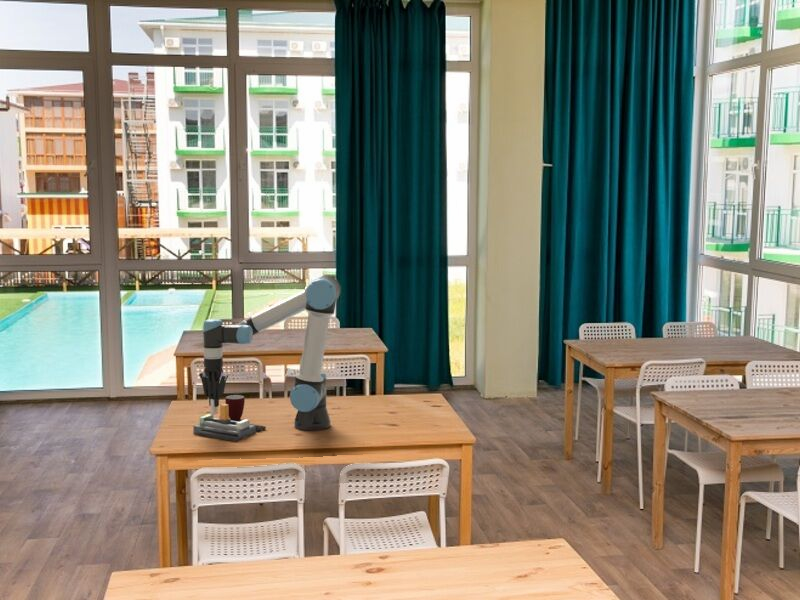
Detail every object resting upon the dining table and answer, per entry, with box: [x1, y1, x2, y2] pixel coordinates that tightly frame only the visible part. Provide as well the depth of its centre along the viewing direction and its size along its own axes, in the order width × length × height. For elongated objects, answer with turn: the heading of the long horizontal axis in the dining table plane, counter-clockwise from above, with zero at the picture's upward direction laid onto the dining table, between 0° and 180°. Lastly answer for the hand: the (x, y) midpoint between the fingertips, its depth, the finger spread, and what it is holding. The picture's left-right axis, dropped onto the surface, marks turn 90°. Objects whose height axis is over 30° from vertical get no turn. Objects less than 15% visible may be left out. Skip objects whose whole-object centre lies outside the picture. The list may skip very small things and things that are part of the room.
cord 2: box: [250, 423, 267, 431], centre depth 367 cm, size 25×2×2 cm, turn 68°
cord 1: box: [197, 431, 239, 442], centre depth 350 cm, size 20×2×2 cm, turn 63°
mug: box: [224, 394, 245, 422], centre depth 377 cm, size 10×8×10 cm
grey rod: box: [256, 426, 263, 432], centre depth 365 cm, size 24×2×2 cm, turn 65°
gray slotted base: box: [192, 413, 257, 441], centre depth 357 cm, size 22×12×6 cm, turn 65°
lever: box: [217, 403, 232, 425], centre depth 356 cm, size 4×3×8 cm
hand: (214, 414), depth 359 cm, fingers closed
